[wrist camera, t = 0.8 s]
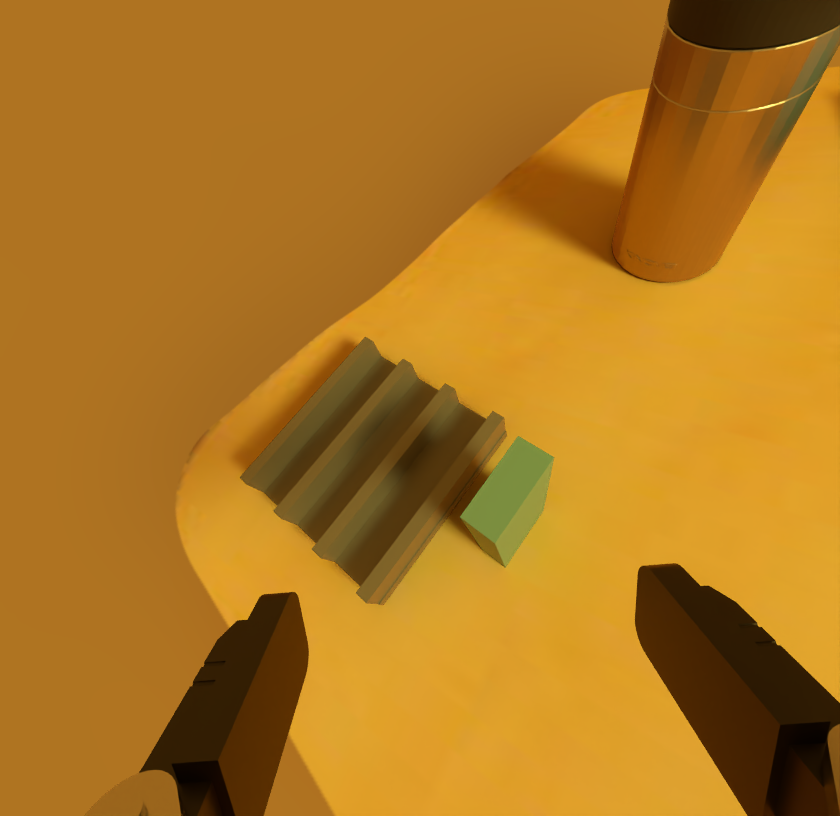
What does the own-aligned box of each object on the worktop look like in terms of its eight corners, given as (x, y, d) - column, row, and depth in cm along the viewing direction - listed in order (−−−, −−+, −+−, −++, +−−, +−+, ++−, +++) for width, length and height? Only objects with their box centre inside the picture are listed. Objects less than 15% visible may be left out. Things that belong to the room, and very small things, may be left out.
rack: (376, 357, 40) (364, 336, 37) (506, 435, 33) (505, 418, 30) (262, 488, 36) (238, 476, 33) (383, 605, 30) (367, 604, 26)
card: (519, 495, 31) (518, 435, 20) (543, 510, 30) (554, 457, 19) (482, 549, 30) (459, 517, 19) (505, 567, 29) (495, 543, 18)
